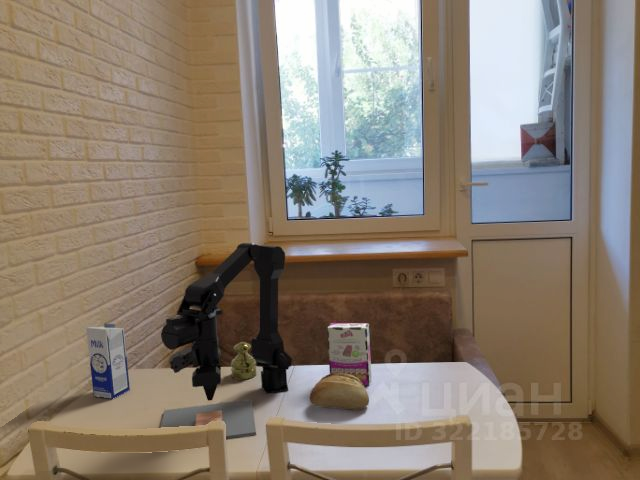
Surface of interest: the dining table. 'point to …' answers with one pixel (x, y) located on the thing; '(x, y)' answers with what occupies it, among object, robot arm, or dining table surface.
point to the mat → (233, 414)
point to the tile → (208, 417)
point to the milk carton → (108, 360)
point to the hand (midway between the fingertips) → (210, 399)
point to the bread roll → (340, 392)
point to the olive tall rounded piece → (243, 362)
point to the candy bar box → (350, 350)
